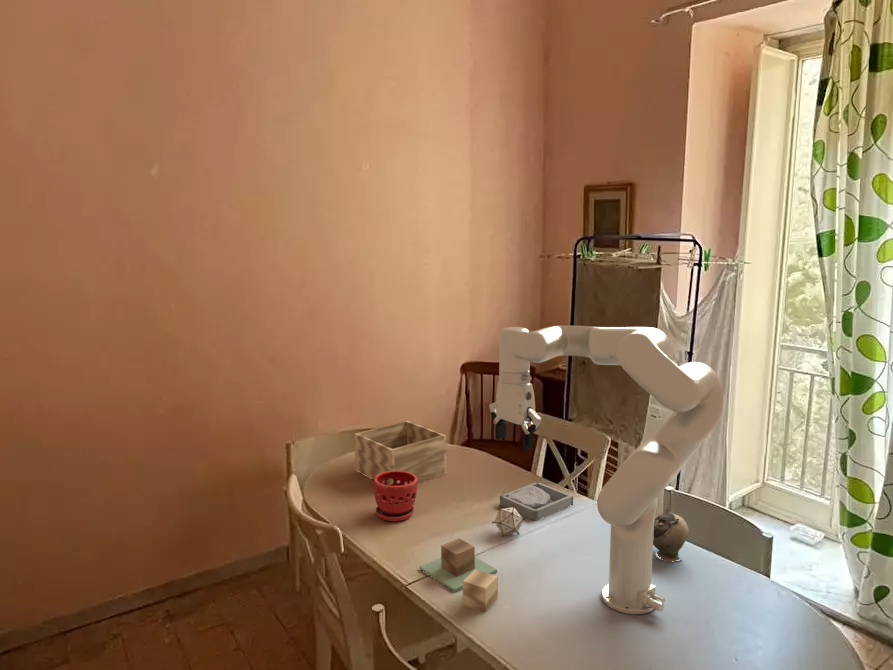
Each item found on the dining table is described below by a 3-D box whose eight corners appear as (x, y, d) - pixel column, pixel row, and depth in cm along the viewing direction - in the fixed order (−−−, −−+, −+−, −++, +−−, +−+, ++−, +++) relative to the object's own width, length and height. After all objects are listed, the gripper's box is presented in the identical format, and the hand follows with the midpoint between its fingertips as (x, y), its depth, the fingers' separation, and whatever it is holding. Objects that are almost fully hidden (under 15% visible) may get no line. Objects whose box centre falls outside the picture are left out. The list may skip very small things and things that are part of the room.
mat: (496, 572, 169) (496, 569, 169) (454, 592, 160) (454, 589, 160) (460, 551, 180) (460, 548, 179) (419, 569, 171) (419, 566, 171)
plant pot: (392, 529, 193) (391, 489, 191) (366, 514, 203) (364, 477, 201) (426, 515, 202) (426, 477, 200) (400, 502, 212) (399, 466, 209)
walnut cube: (474, 568, 169) (474, 546, 168) (456, 576, 166) (456, 554, 164) (459, 559, 174) (459, 538, 173) (441, 567, 170) (441, 545, 169)
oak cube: (497, 599, 157) (497, 576, 156) (485, 612, 152) (485, 588, 151) (475, 592, 160) (475, 569, 159) (462, 604, 155) (462, 581, 154)
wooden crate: (446, 473, 235) (446, 435, 232) (392, 490, 220) (391, 450, 218) (408, 456, 252) (407, 420, 250) (355, 471, 238) (354, 433, 235)
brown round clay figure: (639, 551, 179) (666, 568, 170) (640, 509, 177) (667, 524, 168) (668, 543, 183) (696, 560, 173) (669, 502, 181) (698, 516, 172)
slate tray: (573, 505, 208) (573, 495, 207) (535, 521, 197) (535, 511, 196) (537, 490, 219) (537, 481, 218) (499, 504, 208) (499, 495, 208)
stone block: (553, 509, 210) (529, 493, 217) (555, 495, 208) (531, 480, 215) (527, 521, 202) (504, 505, 209) (529, 508, 200) (505, 492, 207)
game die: (513, 548, 189) (523, 531, 182) (485, 536, 190) (494, 518, 183) (522, 522, 195) (531, 505, 188) (495, 510, 196) (503, 492, 189)
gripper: (551, 380, 161) (550, 448, 164) (501, 369, 174) (501, 431, 177) (529, 386, 157) (528, 455, 159) (479, 373, 170) (480, 438, 173)
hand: (514, 443), depth 168 cm, fingers open, 9 cm apart
